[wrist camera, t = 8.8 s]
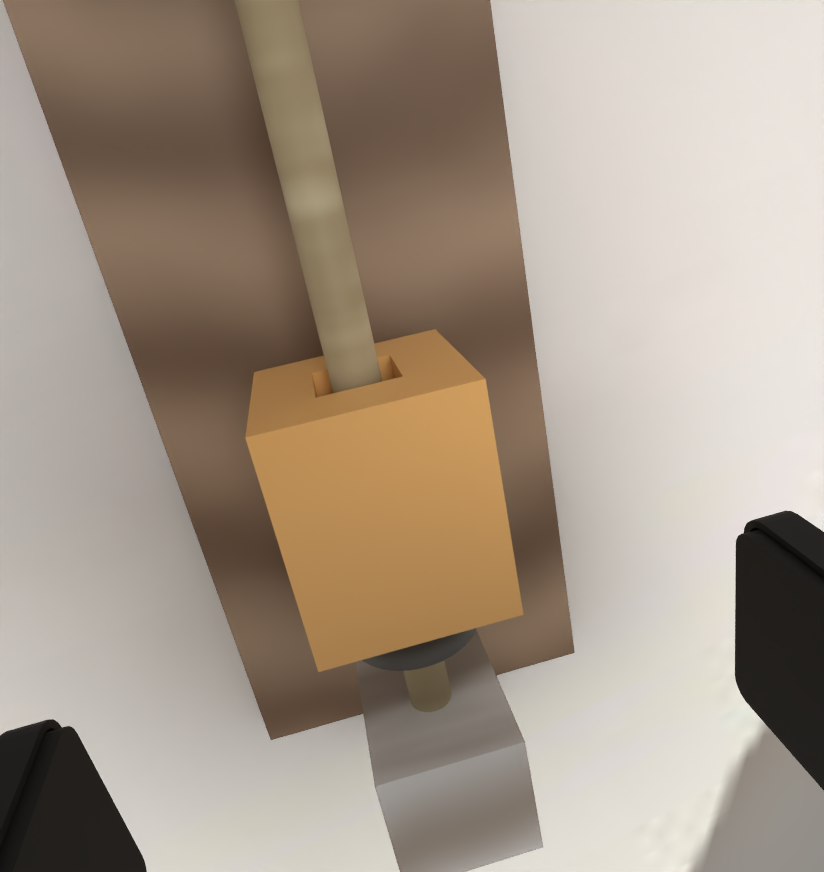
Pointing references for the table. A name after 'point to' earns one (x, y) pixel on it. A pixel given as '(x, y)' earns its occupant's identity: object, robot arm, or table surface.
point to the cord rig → (320, 326)
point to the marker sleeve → (385, 499)
